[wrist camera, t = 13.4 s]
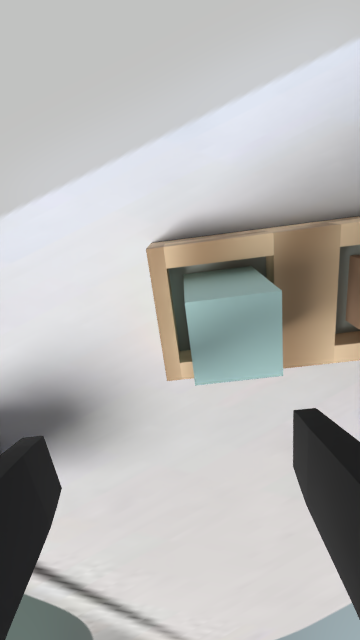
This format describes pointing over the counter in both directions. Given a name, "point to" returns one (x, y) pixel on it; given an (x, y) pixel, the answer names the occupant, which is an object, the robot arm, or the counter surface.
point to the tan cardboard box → (353, 292)
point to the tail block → (233, 325)
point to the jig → (279, 268)
